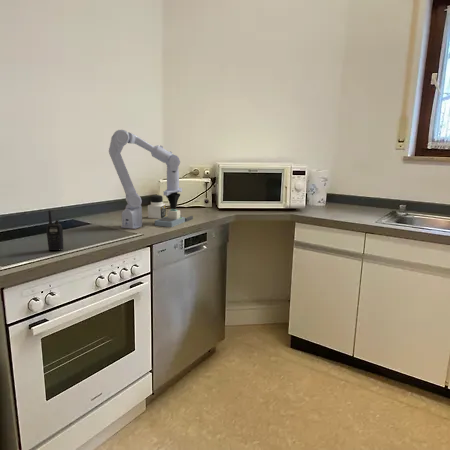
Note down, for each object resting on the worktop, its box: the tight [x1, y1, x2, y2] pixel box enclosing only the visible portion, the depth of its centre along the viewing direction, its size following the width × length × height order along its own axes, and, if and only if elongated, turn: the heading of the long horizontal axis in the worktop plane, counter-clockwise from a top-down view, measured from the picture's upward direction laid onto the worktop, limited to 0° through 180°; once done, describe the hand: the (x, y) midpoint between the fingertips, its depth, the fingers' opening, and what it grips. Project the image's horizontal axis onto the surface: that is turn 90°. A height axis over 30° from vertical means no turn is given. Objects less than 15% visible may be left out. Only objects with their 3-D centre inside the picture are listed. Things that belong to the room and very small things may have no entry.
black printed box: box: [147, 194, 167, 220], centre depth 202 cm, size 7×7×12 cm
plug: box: [166, 208, 181, 219], centre depth 190 cm, size 4×5×7 cm
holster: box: [180, 214, 194, 222], centre depth 198 cm, size 7×8×2 cm
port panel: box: [154, 215, 186, 229], centre depth 188 cm, size 13×9×3 cm
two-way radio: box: [45, 209, 64, 251], centre depth 144 cm, size 6×4×15 cm
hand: (173, 208), depth 190 cm, fingers closed
